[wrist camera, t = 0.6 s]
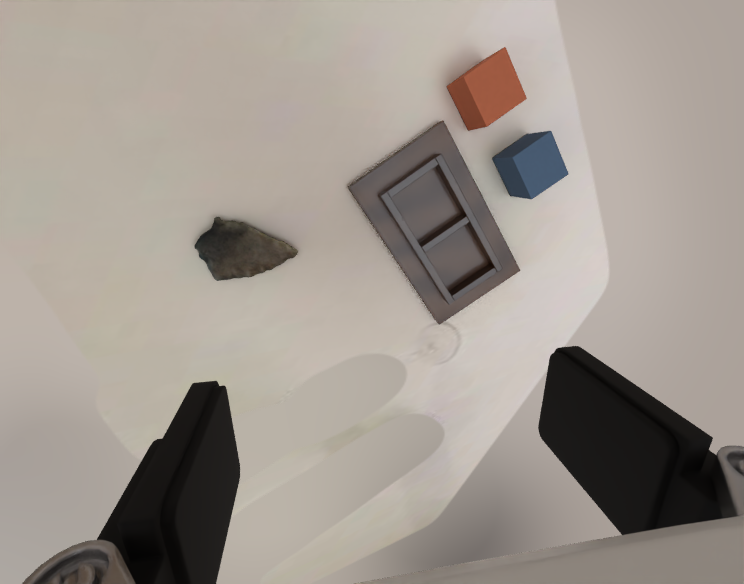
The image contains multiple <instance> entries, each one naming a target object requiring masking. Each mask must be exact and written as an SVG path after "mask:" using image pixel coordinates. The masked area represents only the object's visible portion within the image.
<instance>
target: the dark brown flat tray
mask: <svg viewBox="0 0 744 584" xmlns="http://www.w3.org/2000/svg"><path fill="white" fill-rule="evenodd" d="M348 188H349V190H350V191H351V193H352V194H353V196H354V197H355V199H356V200H357V202H358V203H359V205H360V206H361V208H362V209H363V211H364V212H365V214H366V215H367V217H368V218H369V220H370V221H371V223H372V224H373V226H374V227H375V229H376V230H377V232H378V233H379V235H380V236H381V238H382V240H383V241H384V243H385V244H386V246H387V247H388V249H389V250H390V252H391V253H392V255H393V256H394V258H395V259H396V261H397V262H398V264H399V265H400V267H401V268H402V270H403V271H404V273H405V274H406V276H407V277H408V279H409V280H410V282H411V283H412V285H413V286H414V288H415V289H416V291H417V292H418V294H419V296H420V297H421V299H422V300H423V302H424V303H425V305H426V306H427V308H428V309H429V311H430V312H431V314H432V315H433V317H434V318H435V320H436V321H437V323H438V324H441V323H442V322H444V321H445V320H447V319H448V318H450V317H451V316H453V315H454V314H456V313H457V312H459V311H460V310H462V309H463V308H465V307H466V306H468V305H469V304H471V303H472V302H474V301H475V300H477V299H478V298H480V297H481V296H483V295H484V294H486V293H487V292H489V291H490V290H492V289H493V288H495V287H496V286H498V285H499V284H501V283H502V282H504V281H505V280H507V279H508V278H510V277H511V276H513V275H514V274H516V273H517V272H519V271H520V269H519V267H518V265H517V263H516V261H515V259H514V257H513V255H512V253H511V251H510V249H509V248H508V246H507V244H506V242H505V240H504V238H503V236H502V234H501V232H500V230H499V228H498V226H497V224H496V222H495V220H494V218H493V216H492V214H491V212H490V211H489V209H488V207H487V205H486V203H485V201H484V199H483V197H482V195H481V193H480V191H479V189H478V187H477V185H476V183H475V181H474V179H473V177H472V176H471V174H470V172H469V170H468V168H467V166H466V164H465V162H464V160H463V158H462V156H461V154H460V152H459V150H458V148H457V146H456V144H455V142H454V141H453V139H452V137H451V135H450V133H449V131H448V129H447V127H446V125H445V123H444V121H441V122H439V123H437V124H436V125H435V126H433V127H432V128H430V129H429V130H427V131H426V132H425V133H423V134H422V135H420V136H419V137H418V138H416V139H415V140H413V141H412V142H411V143H409V144H408V145H406V146H405V147H404V148H402V149H401V150H399V151H398V152H396V153H395V154H394V155H392V156H391V157H389V158H388V159H387V160H385V161H384V162H382V163H381V164H380V165H378V166H377V167H375V168H374V169H372V170H371V171H370V172H368V173H367V174H365V175H364V176H363V177H361V178H360V179H358V180H357V181H356V182H354V183H353V184H351V185H350V186H348Z"/></svg>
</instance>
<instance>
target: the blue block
mask: <svg viewBox="0 0 744 584" xmlns="http://www.w3.org/2000/svg"><path fill="white" fill-rule="evenodd" d="M492 159H493V161H494V163H495V165H496V167H497V169H498V172H499V174H500V176H501V178H502V180H503V182H504V184H505V186H506V188H507V190H508V192H509V194H510V196H514V197H520V198H527V199H533V198H534V197H536V196H537V195H539V194H540V193H542V192H543V191H545V190H546V189H547V188H549V187H550V186H552V185H553V184H555V183H556V182H558V181H559V180H561V179H562V178H564V177H565V176H567V175H568V171H567V169H566V166H565V164H564V161H563V159H562V157H561V154H560V152H559V149H558V147H557V144H556V142H555V139H554V137H553V134H552V132H551V131H546V132H539V133H532V134H526V135H525V136H523V137H522V138H520V139H519V140H517V141H516V142H515V143H513V144H512V145H510V146H509V147H507V148H506V149H504V150H503V151H502V152H500V153H499V154H497V155H496V156H494V157H493V158H492Z"/></svg>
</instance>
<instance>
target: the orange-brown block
mask: <svg viewBox="0 0 744 584" xmlns="http://www.w3.org/2000/svg"><path fill="white" fill-rule="evenodd" d="M447 88H448V90H449V92H450V94H451V96H452V99H453V101H454V103H455V105H456V107H457V109H458V111H459V113H460V115H461V117H462V119H463V121H464V123H465V125H466V127H467V129H468V130H473V129H478V128H482V127H487V126H488V125H490V124H491V123H493V122H494V121H496V120H497V119H498V118H500V117H501V116H503V115H504V114H506V113H507V112H508V111H510V110H511V109H513V108H514V107H515V106H517V105H518V104H520V103H521V102H523V101H524V100H525V99H527V98H526V96H525V93H524V91H523V88H522V86H521V84H520V81H519V79H518V76H517V74H516V72H515V69H514V67H513V64H512V62H511V60H510V57H509V55H508V52H507V50H506V48H505V47H504V48H503V49H501V50H499V51H498V52H496V53H494V54H493V55H491V56H489V57H488V58H486V59H484V60H483V61H481V62H480V63H479V64H477V65H476V66H474V67H473V68H472V69H470V70H469V71H467V72H466V73H465V74H463V75H462V76H460V77H459V78H458V79H456V80H455V81H453V82H452V83H451V84H449V85H448V86H447Z"/></svg>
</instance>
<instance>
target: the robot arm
mask: <svg viewBox="0 0 744 584" xmlns="http://www.w3.org/2000/svg"><path fill="white" fill-rule="evenodd" d="M539 433H540V436H541V438H542V440H543V441H544V442H545V443H546V444H547V446H548V447H549V448H550V449H551V450H552V452H553V453H554V454H555V455H556V456H557V458H558V459H559V460H560V461H561V462H562V464H563V465H564V466H565V467H566V468H567V470H568V471H569V472H570V473H571V474H572V476H573V477H574V478H575V479H576V480H577V482H578V483H579V484H580V485H581V486H582V487H583V489H584V490H585V491H586V492H587V493H588V495H589V496H590V497H591V498H592V499H593V500H594V502H595V503H596V504H597V505H598V507H599V508H600V509H601V510H602V511H603V512H604V514H605V515H606V516H607V517H608V519H609V520H610V521H611V522H612V523H613V524H614V526H615V527H616V528H617V529H618V530H619V532H621V534H622V535H620V536H614V537H609V538H603V539H597V540H591V541H585V542H580V543H574V544H569V545H563V546H558V547H552V548H546V549H540V550H535V551H529V552H524V553H519V554H513V555H508V556H502V557H496V558H490V559H485V560H479V561H474V562H468V563H463V564H457V565H452V566H447V567H441V568H436V569H430V570H425V571H419V572H414V573H409V574H403V575H399V576H393V577H387V578H382V579H377V580H371V581H366V582H361V583H355V584H744V447H742V446H725V447H722V448H721V449H720V450H719V451H718V452H717V455H715V454H714V453H712V452H711V451H710V450H709V447H710V444H711V442H712V439H713V438H712V437H711V436H709V435H708V434H707V433H705V432H704V431H702V430H701V429H699V428H698V427H696V426H695V425H693V424H692V423H691V422H689V421H688V420H686V419H685V418H683V417H682V416H680V415H679V414H677V413H676V412H674V411H673V410H671V409H670V408H668V407H667V406H666V405H664V404H663V403H661V402H660V401H658V400H657V399H655V398H654V397H652V396H651V395H649V394H648V393H646V392H645V391H644V390H642V389H641V388H639V387H638V386H636V385H635V384H633V383H632V382H630V381H629V380H627V379H626V378H624V377H623V376H622V375H620V374H619V373H617V372H616V371H614V370H613V369H611V368H610V367H608V366H607V365H605V364H604V363H603V362H601V361H600V360H598V359H597V358H595V357H594V356H592V355H591V354H589V353H588V352H586V351H585V350H584V349H582V348H580V347H578V346H572V347H562V348H557V349H556V350H555V352H554V353H553V354H552V355H551V356H550V360H549V366H548V372H547V378H546V384H545V390H544V396H543V402H542V408H541V414H540V420H539ZM239 478H240V463H239V458H238V452H237V446H236V441H235V435H234V430H233V424H232V418H231V412H230V406H229V400H228V395H227V390H226V387H225V386H219V384H218V382H217V381H210V382H200V383H193V384H192V385H191V387H190V389H189V391H188V393H187V395H186V396H185V398H184V400H183V402H182V404H181V406H180V408H179V409H178V411H177V413H176V415H175V417H174V419H173V420H172V422H171V424H170V426H169V428H168V430H167V432H166V433H165V435H164V437H163V439H157V440H155V441H154V442H153V443H152V444H151V446H150V447H149V449H148V451H147V453H146V454H145V456H144V458H143V460H142V461H141V463H140V465H139V467H138V468H137V470H136V472H135V474H134V475H133V477H132V479H131V481H130V482H129V484H128V486H127V488H126V490H125V491H124V493H123V495H122V497H121V498H120V500H119V502H118V504H117V505H116V507H115V509H114V510H113V512H112V514H111V516H110V518H109V519H108V521H107V523H106V525H105V526H104V528H103V530H102V531H101V533H100V535H99V537H98V539H97V540H91V541H86V542H83V543H79V544H77V545H74V546H71V547H69V548H67V549H66V550H64V551H61V552H59V553H58V554H56V555H54V556H53V557H52V558H50V559H49V560H47V561H46V562H45V563H43V564H42V565H40V567H38V568H37V569H36V570H35V571H34V572H33V573H32V574H31V575H30V576H29V577H28V578H27V579H26V580H25V581H24V582H23V584H216V581H217V576H218V572H219V568H220V563H221V558H222V554H223V550H224V546H225V541H226V537H227V532H228V527H229V523H230V519H231V515H232V510H233V506H234V501H235V497H236V493H237V488H238V484H239Z"/></svg>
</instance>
